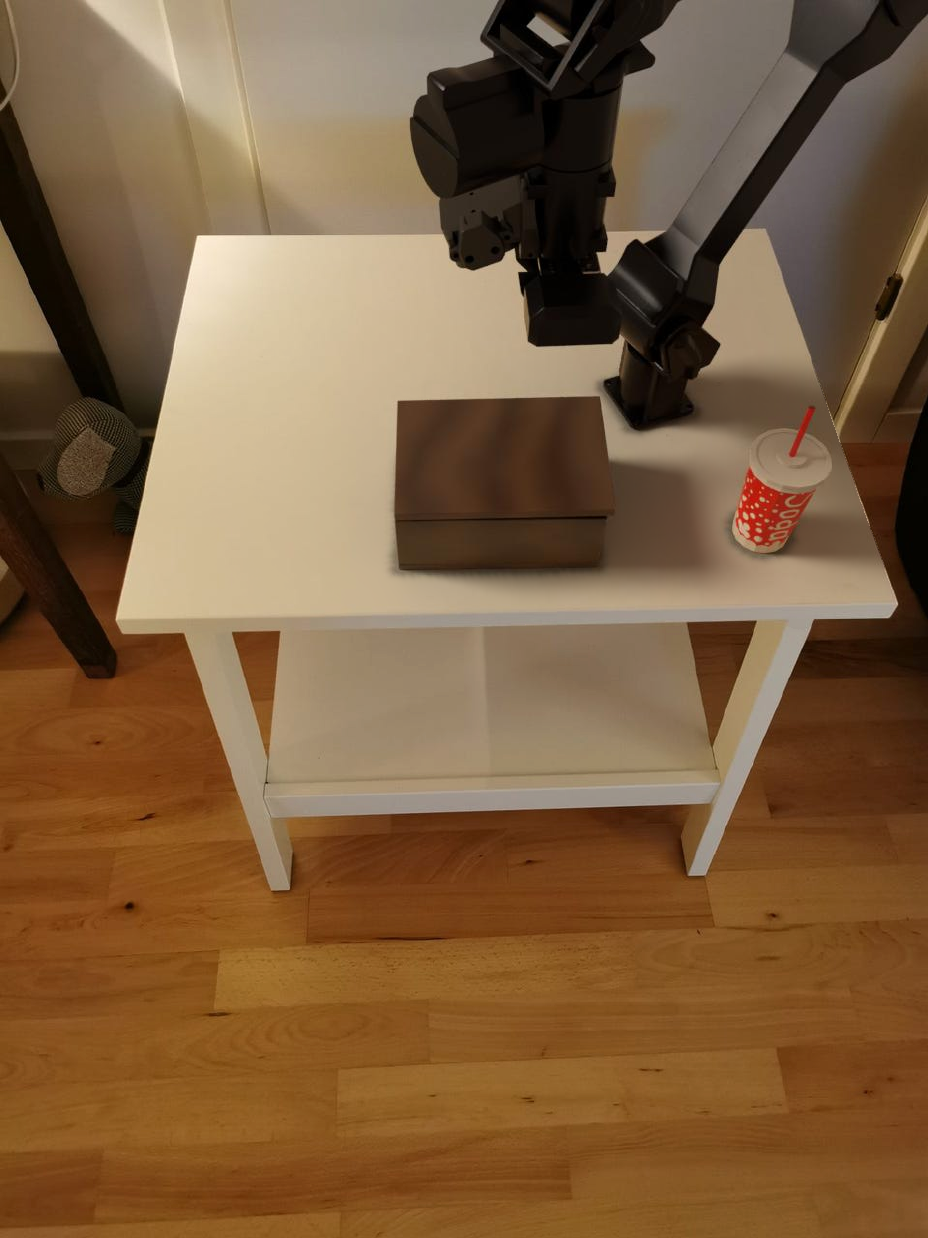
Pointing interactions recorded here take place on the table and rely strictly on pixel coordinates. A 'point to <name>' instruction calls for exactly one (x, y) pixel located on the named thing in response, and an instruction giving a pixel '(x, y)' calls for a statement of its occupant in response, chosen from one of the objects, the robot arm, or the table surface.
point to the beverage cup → (779, 485)
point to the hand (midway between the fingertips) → (550, 340)
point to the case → (500, 542)
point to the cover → (502, 459)
